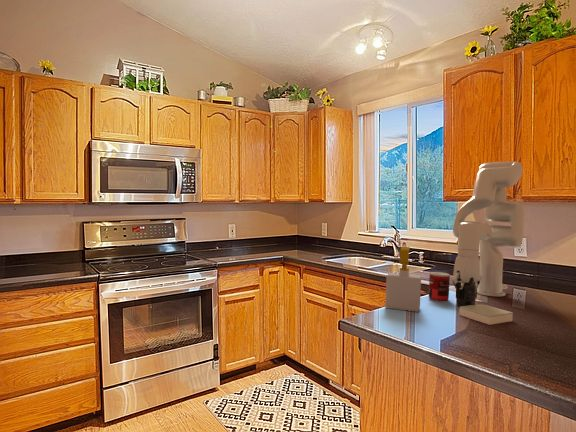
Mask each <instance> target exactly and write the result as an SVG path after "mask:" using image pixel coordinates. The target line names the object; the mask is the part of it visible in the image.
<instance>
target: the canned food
mask: <svg viewBox="0 0 576 432" xmlns="http://www.w3.org/2000/svg"><path fill="white" fill-rule="evenodd" d="M450 275H451V274H450V273H447V272H441V271H431V272H429V278H428V279H429V280H428V298H429V299H430V300H431V301H435V302H448V301H449V297H450V282H451V281H450V279H451V278H450V277H451V276H450Z"/></svg>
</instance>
